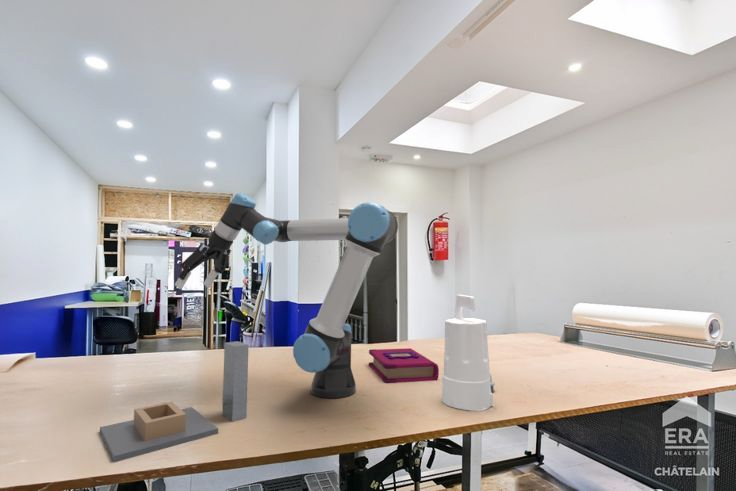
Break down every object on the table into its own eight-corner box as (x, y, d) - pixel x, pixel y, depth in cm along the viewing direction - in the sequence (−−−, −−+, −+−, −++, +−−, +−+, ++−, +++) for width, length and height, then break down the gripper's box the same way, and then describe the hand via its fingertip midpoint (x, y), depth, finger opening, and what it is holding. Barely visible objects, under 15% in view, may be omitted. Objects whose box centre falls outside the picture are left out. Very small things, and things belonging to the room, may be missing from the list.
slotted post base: (191, 411, 111) (192, 392, 111) (218, 433, 96) (218, 412, 97) (99, 432, 96) (100, 410, 97) (114, 462, 82) (115, 436, 82)
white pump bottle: (503, 406, 117) (501, 296, 119) (463, 413, 111) (461, 297, 113) (469, 391, 131) (468, 293, 133) (432, 397, 125) (432, 294, 127)
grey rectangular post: (235, 411, 112) (238, 341, 113) (246, 418, 106) (248, 344, 108) (222, 414, 109) (224, 342, 110) (232, 421, 104) (234, 346, 105)
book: (413, 363, 172) (413, 346, 173) (438, 381, 145) (438, 361, 145) (368, 365, 168) (368, 348, 168) (385, 384, 140) (385, 363, 141)
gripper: (238, 233, 144) (209, 279, 146) (190, 224, 120) (156, 280, 122) (252, 244, 142) (223, 291, 144) (206, 237, 118) (172, 294, 120)
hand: (192, 286), depth 133 cm, fingers open, 13 cm apart
